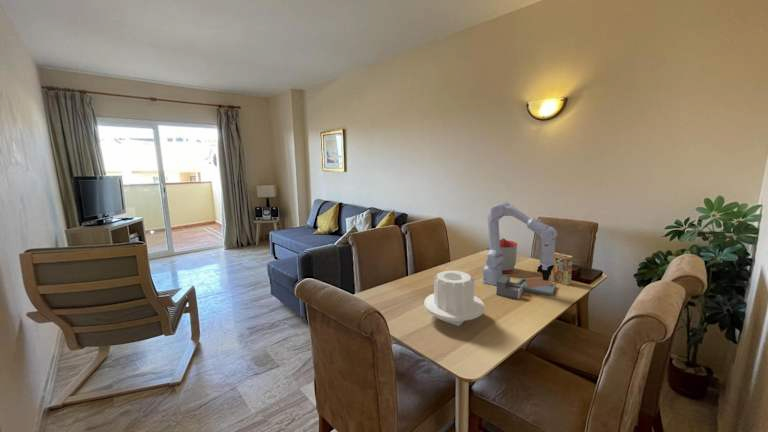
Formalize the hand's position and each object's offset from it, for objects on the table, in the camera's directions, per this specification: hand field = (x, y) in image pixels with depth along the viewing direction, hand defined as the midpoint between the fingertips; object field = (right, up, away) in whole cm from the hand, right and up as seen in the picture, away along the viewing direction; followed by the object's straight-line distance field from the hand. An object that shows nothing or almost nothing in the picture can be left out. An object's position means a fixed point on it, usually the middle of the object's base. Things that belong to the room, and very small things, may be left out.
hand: (545, 279), depth 151 cm
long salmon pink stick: (-2, -4, +2) cm, 5 cm away
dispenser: (-15, -8, +6) cm, 18 cm away
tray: (0, -7, +11) cm, 13 cm away
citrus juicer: (-8, -2, +38) cm, 39 cm away
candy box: (+17, -5, +18) cm, 25 cm away
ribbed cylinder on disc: (-48, -13, -16) cm, 53 cm away
